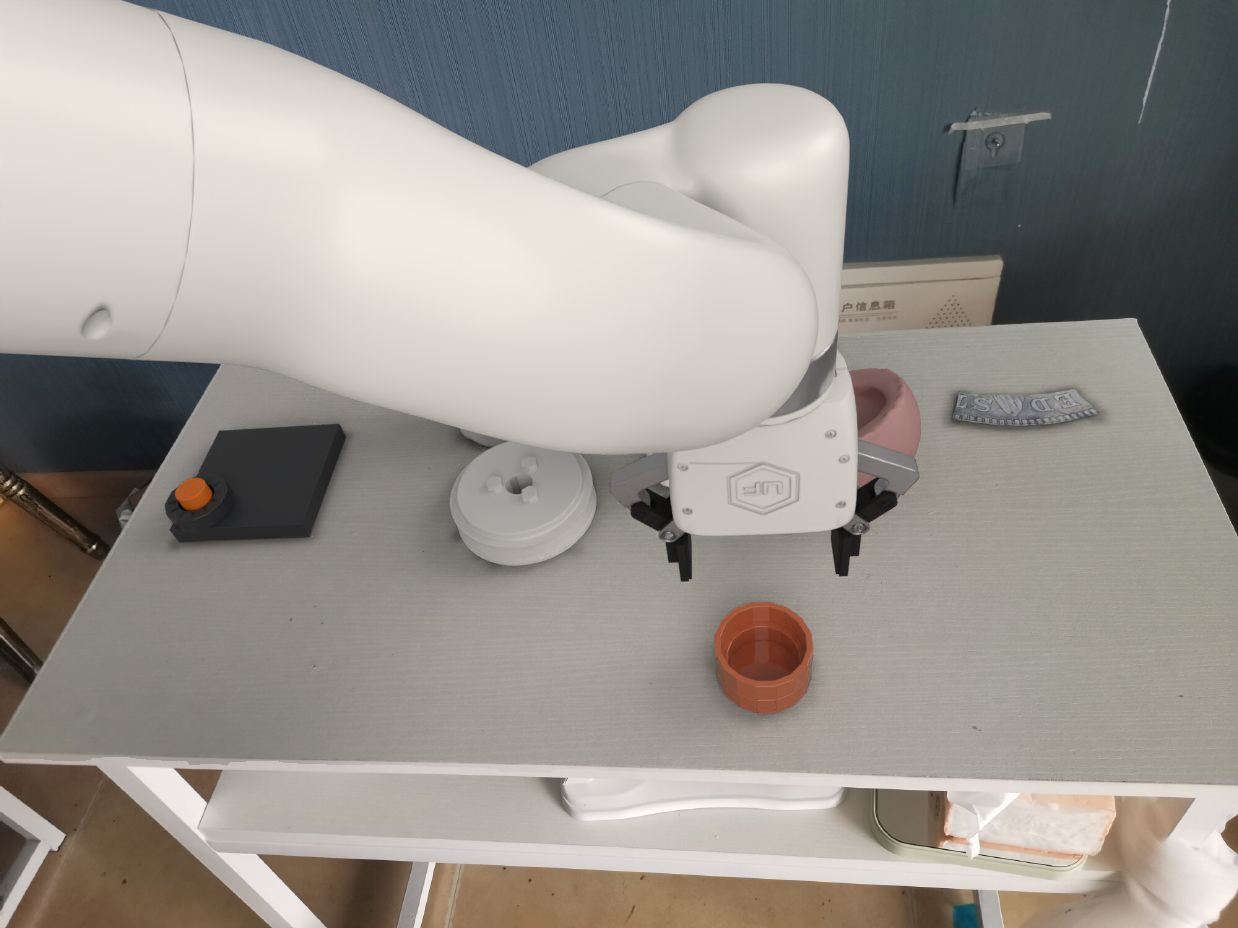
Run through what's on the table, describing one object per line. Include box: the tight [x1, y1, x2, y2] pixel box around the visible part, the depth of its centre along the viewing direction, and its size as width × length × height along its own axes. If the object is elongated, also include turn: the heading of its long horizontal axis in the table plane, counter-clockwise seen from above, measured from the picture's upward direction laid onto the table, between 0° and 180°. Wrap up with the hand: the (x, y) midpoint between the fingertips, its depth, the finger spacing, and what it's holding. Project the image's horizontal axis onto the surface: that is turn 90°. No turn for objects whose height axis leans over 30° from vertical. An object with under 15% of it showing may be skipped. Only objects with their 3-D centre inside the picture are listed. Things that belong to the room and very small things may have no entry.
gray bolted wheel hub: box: [449, 441, 597, 567], centre depth 78 cm, size 13×13×5 cm
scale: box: [164, 423, 347, 543], centre depth 85 cm, size 13×13×4 cm
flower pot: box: [713, 601, 814, 714], centre depth 65 cm, size 7×7×4 cm
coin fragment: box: [952, 388, 1101, 427], centre depth 81 cm, size 13×5×1 cm, turn 85°
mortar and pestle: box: [848, 367, 922, 487], centre depth 74 cm, size 12×12×11 cm
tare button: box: [175, 477, 213, 511], centre depth 82 cm, size 3×3×2 cm
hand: (761, 560), depth 56 cm, fingers open, 9 cm apart
